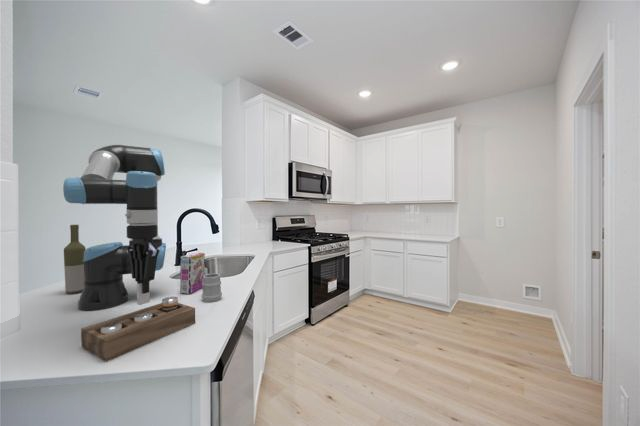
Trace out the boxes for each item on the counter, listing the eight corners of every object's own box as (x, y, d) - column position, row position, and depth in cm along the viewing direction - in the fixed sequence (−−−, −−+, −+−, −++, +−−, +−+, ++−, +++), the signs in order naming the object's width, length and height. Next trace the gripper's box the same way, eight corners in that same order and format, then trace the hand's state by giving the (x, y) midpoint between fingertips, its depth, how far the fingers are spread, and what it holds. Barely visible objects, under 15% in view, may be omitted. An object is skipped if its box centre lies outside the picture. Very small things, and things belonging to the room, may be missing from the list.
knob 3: (159, 315, 83) (158, 299, 83) (172, 310, 87) (172, 295, 87) (167, 318, 81) (167, 302, 81) (181, 313, 85) (180, 297, 84)
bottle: (63, 292, 114) (62, 224, 113) (84, 288, 119) (83, 224, 119) (65, 296, 109) (64, 225, 109) (87, 292, 115) (86, 224, 114)
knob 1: (97, 346, 69) (97, 327, 69) (117, 339, 73) (117, 321, 73) (105, 351, 67) (105, 331, 67) (125, 343, 71) (125, 325, 70)
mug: (206, 304, 101) (206, 273, 100) (194, 297, 108) (194, 268, 108) (225, 299, 106) (225, 270, 106) (212, 292, 114) (211, 265, 114)
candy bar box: (190, 294, 111) (190, 257, 111) (179, 294, 112) (179, 256, 112) (205, 287, 122) (205, 252, 122) (195, 286, 123) (195, 252, 123)
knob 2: (131, 333, 76) (131, 316, 76) (147, 327, 80) (147, 311, 80) (139, 337, 74) (139, 320, 74) (155, 330, 78) (155, 314, 78)
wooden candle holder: (81, 346, 70) (81, 328, 69) (169, 314, 91) (169, 300, 90) (106, 361, 63) (105, 341, 63) (195, 323, 84) (195, 307, 84)
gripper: (116, 224, 76) (117, 303, 77) (140, 226, 70) (141, 312, 70) (144, 222, 82) (144, 295, 83) (168, 224, 76) (168, 303, 77)
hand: (143, 303), depth 77 cm, fingers closed
